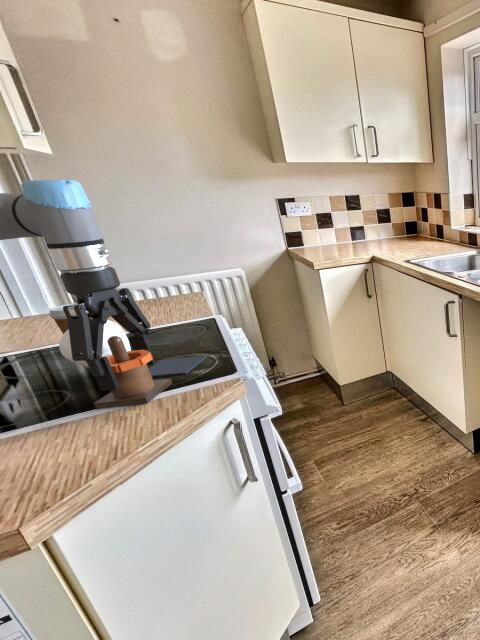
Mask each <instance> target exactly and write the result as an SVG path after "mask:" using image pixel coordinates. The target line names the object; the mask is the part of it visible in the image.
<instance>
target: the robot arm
mask: <svg viewBox="0 0 480 640" xmlns="http://www.w3.org/2000/svg"><path fill="white" fill-rule="evenodd" d="M20 186H21V190H22V192H21V193H14V192H13V193H8V192H7V193H6V192H0V241H4V240H14V239H22V238H42V239H43V240H44V243H45V245H46V248H47V250H48V253H49V255H50V257H51V260H52V263H53V265H54V268H55V270H57V271H59V272H61V273H60V274H59V278H60V280H61V283H62V286H63V287H64V290H65V292H66V293H67V294H70V295H71V294H72V295H73V296H75V299H76V303H77V304H75V305H69V306H64V307H63V311H64V313H65V315H66V317H67V321H68V328H69V336H70V344H71V352H72V359H73V360H74V361H86V362H87V364H88V366H89V368H88V369H89V371H90V373H91V375H92V377H94V379H95V381H96V384H97V386H98V388H99V390H100V392H103V391H111V390H113V389H118V388H119V385H118V383H117V380H116V378H115V375H114V373H113V371H112V368H111V366H110V364H109V361H108V359H107V356H105V357H102V347H103V332H104V324H105V323H107V320H108V319H109V318H112V319H113V320H114V321H115V322H116V323H117V324H118V325H119V326H120V327H121V328H122V329H123V330H124V331H126V332H127V333H129V334H130V335H131V336H129V337H128V336H127V338H128V341H129V344H130V346H131V348H132V351H134V350H147V351H148V352H150V353H151V355H152V358H153V359H152V360H151V361H149V362H148V363H147V366H153V365H155V364H156V361H155V357H154V355H153V353H152V350H151V347H150V343H149V341H148V338H147V335H149V334H151V327H152V326H151V323H150V322H149V320H148V319H147V317H146V316H145V315H144V312H143V311H142V310H141V308H140V307H139V305H138V304H137V303H136V301H135V300H134V298H133V295H132V293H131V291H130V289H129V288H128V287H122V288H121V287H120V286H121V281H120V278H119V276H118V273H117V271H116V268H115V267H112V266H110V265H111V264H113V261H112V259H111V257H110V254H109V250H108V249H107V246H106V243H105V240H104V238H103V234H102V232H101V229H100V226H99V224H98V220H97V218H96V215H95V212H94V210H93V207H92V202H91V201H90V200H89V198H88V196H87V194H86V191H85V189H84V187H83V185H82V183H80V181H79V182H78V181H77V180H75V179H31V180H24V181H22V182H21V184H20ZM119 287H120V288H119ZM90 317H91V318H92V319H90ZM93 351H94V353H93ZM81 353H82V354H81Z"/></svg>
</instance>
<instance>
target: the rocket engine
mask: <svg viewBox="0 0 480 640" xmlns="http://www.w3.org/2000/svg"><path fill="white" fill-rule="evenodd" d="M62 334H63V333H62ZM111 336H119V337H120V338H122V340H123V343H124V345H125V348H126V350H127V351H132V350H131V343H130V340H129V338H128V336H127V334H126V332H125V329H124V328H123V327H122V326H121V325H120V324H119V323H117V322H114V321H112V320H109V319H107V323H105V324H104V332H103V347H102V357H105V356H109V355H112V353H111V350H110V348H109V345H108V343H107V340H108V338H110V337H111ZM58 343H59V345H58V347H59V348H58V349H59V352H60V354H61V355H62V357H63V358H65V359H66V360H68V361H69V362H71V363H73V364H77V365H79V366H81V367H84V368H88V369H89V366H88V364H87V362H86V361H74V360H73V359H72V352H71V344H70V336H69V329H68V330H67V331H66V332H65V333H64V334H63V335H62V336H61V337H60V339H59V342H58ZM93 353H94V351H93ZM81 354H82V353H81Z"/></svg>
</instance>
